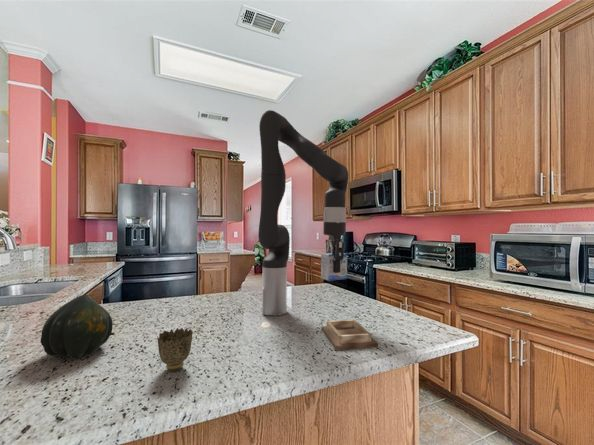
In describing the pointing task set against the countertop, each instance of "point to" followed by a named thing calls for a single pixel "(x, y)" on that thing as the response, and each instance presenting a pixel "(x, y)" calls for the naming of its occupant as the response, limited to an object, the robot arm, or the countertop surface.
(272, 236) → the robot arm
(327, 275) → the medicine box
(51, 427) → the countertop surface
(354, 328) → the holder
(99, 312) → the squash
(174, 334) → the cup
